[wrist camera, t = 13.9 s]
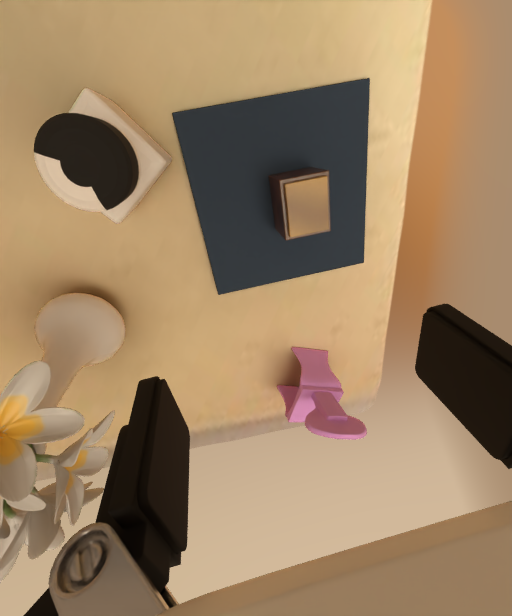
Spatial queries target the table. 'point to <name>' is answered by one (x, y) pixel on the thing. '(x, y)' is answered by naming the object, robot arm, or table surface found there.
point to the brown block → (301, 202)
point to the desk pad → (272, 160)
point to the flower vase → (52, 426)
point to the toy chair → (319, 399)
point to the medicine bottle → (98, 157)
